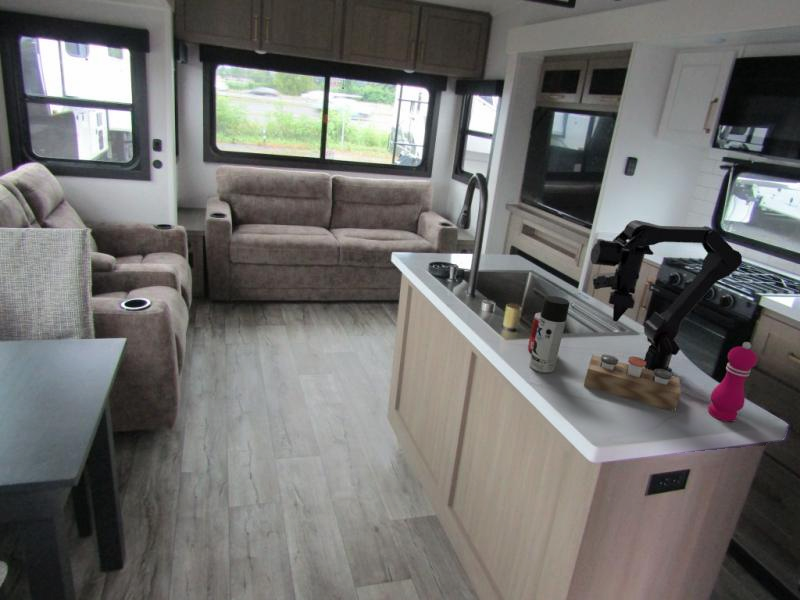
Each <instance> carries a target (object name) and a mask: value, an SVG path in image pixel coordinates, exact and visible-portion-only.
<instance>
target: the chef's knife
mask: <svg viewBox="0 0 800 600" xmlns="http://www.w3.org/2000/svg"><path fill="white" fill-rule="evenodd" d="M680 392H681V393H685V394H687V395H688V396H689V395H690V396H692V397H694V398H696V399H698V400H701V401H704V402H706V403H710V404H711V403H712V401H711V399H709V398H707V397H705V396H704V395H701V394H699V393H697V392H695V391H693V390H691V389H689V388H686V387H685V386H683V385H681V384H680Z"/></svg>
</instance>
